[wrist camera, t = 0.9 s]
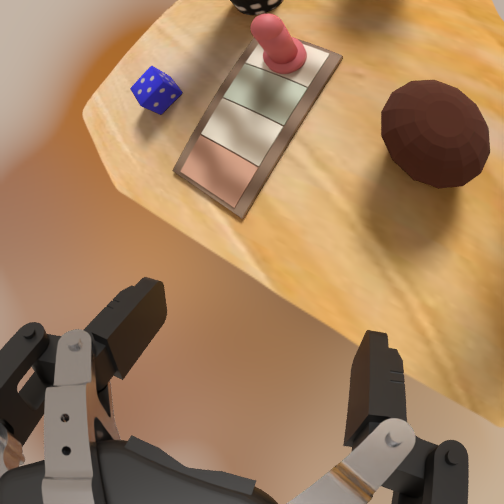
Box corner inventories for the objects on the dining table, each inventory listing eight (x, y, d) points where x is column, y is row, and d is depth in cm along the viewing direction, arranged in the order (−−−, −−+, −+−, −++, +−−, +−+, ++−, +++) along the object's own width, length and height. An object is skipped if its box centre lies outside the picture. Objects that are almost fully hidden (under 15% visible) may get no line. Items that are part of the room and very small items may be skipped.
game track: (262, 30, 34) (260, 27, 34) (342, 57, 31) (342, 54, 30) (174, 171, 41) (171, 170, 41) (243, 218, 38) (241, 218, 37)
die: (170, 76, 41) (151, 65, 36) (183, 93, 40) (163, 81, 36) (149, 97, 43) (129, 88, 38) (161, 115, 42) (140, 106, 37)
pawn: (279, 36, 33) (254, -1, 25) (314, 48, 31) (295, 8, 23) (258, 66, 34) (228, 32, 26) (293, 79, 33) (269, 43, 25)
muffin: (458, 102, 26) (480, 64, 17) (479, 190, 26) (515, 178, 17) (370, 109, 30) (366, 69, 21) (388, 199, 31) (395, 188, 22)
